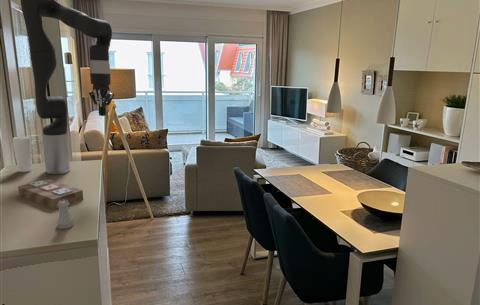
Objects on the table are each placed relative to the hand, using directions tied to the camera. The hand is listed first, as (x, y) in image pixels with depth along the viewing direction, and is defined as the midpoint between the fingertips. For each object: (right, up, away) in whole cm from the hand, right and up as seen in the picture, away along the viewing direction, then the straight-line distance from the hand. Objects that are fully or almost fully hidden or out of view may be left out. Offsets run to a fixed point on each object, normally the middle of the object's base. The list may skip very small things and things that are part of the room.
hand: (102, 115), depth 142 cm
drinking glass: (-39, -23, +12) cm, 47 cm away
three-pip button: (-18, -29, -14) cm, 37 cm away
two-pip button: (-6, -31, -21) cm, 38 cm away
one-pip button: (-12, -30, -17) cm, 36 cm away
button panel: (-12, -31, -17) cm, 38 cm away
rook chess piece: (+4, -37, -38) cm, 54 cm away
